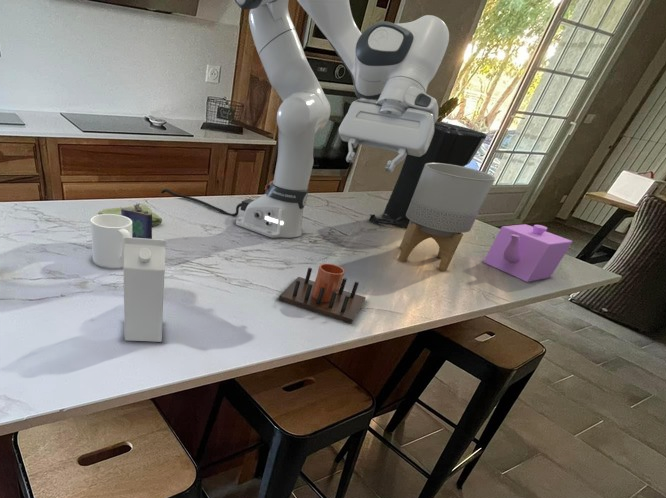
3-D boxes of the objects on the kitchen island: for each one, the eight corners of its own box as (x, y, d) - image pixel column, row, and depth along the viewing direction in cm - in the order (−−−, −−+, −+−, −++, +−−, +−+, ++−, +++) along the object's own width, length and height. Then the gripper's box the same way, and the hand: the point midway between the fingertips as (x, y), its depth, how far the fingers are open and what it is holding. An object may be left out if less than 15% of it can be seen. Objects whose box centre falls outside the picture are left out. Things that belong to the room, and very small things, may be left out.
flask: (119, 240, 123) (119, 201, 116) (124, 237, 125) (124, 199, 119) (149, 248, 121) (150, 208, 115) (153, 244, 124) (155, 206, 117)
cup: (308, 297, 105) (316, 269, 100) (315, 288, 109) (323, 261, 104) (332, 304, 103) (341, 276, 98) (338, 295, 107) (347, 268, 103)
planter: (379, 248, 141) (411, 162, 125) (421, 245, 148) (456, 163, 132) (421, 273, 128) (463, 179, 112) (465, 268, 135) (510, 180, 119)
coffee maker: (453, 226, 173) (497, 130, 152) (420, 240, 153) (465, 132, 133) (401, 209, 184) (435, 118, 164) (363, 220, 165) (397, 118, 144)
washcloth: (96, 216, 137) (95, 206, 135) (147, 213, 145) (148, 203, 143) (110, 231, 128) (109, 220, 126) (164, 227, 136) (164, 216, 134)
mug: (85, 257, 112) (83, 216, 106) (119, 250, 117) (119, 212, 111) (110, 275, 105) (108, 233, 99) (145, 268, 110) (145, 228, 104)
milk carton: (126, 322, 89) (125, 230, 77) (161, 323, 90) (165, 233, 78) (124, 341, 83) (122, 245, 72) (161, 342, 84) (165, 247, 73)
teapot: (469, 264, 139) (491, 220, 131) (514, 257, 150) (538, 216, 141) (513, 284, 129) (540, 238, 120) (558, 275, 140) (586, 232, 131)
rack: (278, 299, 104) (283, 280, 101) (297, 280, 115) (302, 262, 111) (351, 324, 99) (358, 303, 96) (364, 301, 109) (371, 282, 106)
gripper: (352, 88, 97) (323, 149, 100) (444, 101, 87) (410, 169, 90) (357, 104, 102) (330, 162, 105) (445, 119, 93) (413, 182, 96)
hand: (368, 166), depth 98 cm, fingers open, 8 cm apart
